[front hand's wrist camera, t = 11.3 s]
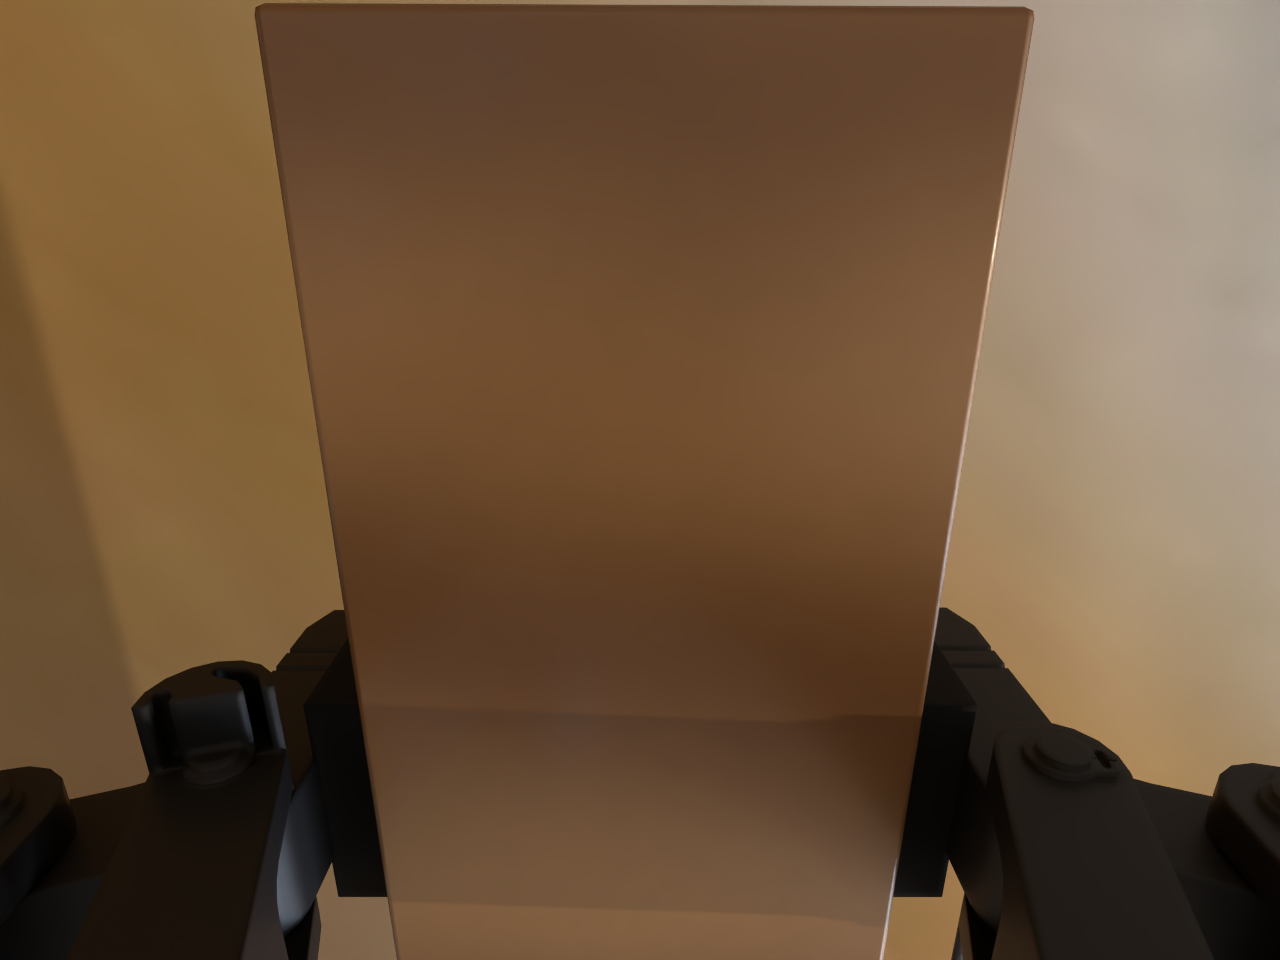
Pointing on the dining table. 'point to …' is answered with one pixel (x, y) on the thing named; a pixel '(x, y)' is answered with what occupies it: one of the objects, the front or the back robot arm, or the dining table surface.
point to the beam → (642, 445)
